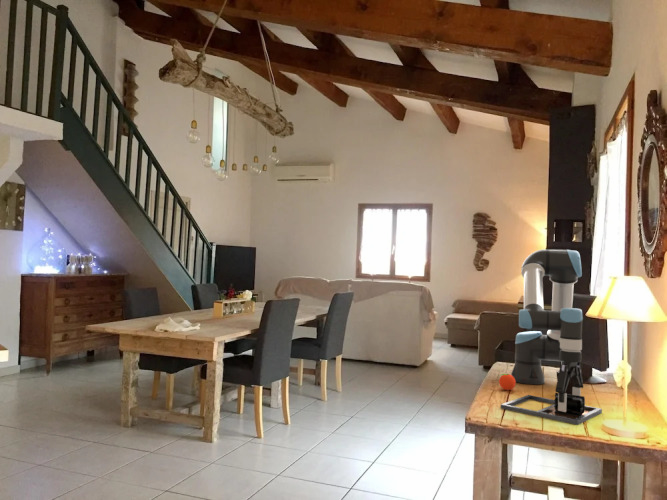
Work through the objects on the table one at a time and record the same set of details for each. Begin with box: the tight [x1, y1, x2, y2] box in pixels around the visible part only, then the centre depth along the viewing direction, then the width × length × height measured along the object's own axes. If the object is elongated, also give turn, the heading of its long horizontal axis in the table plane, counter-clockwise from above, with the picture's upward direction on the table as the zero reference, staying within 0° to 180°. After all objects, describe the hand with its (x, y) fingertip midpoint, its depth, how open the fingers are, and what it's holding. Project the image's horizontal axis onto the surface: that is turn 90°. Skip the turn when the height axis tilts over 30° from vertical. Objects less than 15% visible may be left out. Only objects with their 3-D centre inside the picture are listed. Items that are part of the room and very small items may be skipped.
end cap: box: [554, 392, 586, 417], centre depth 209 cm, size 10×7×7 cm
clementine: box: [498, 373, 517, 391], centre depth 247 cm, size 8×7×7 cm
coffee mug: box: [556, 369, 574, 395], centre depth 237 cm, size 12×9×10 cm
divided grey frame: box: [500, 394, 603, 426], centre depth 213 cm, size 24×28×2 cm
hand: (569, 408), depth 209 cm, fingers open, 13 cm apart
